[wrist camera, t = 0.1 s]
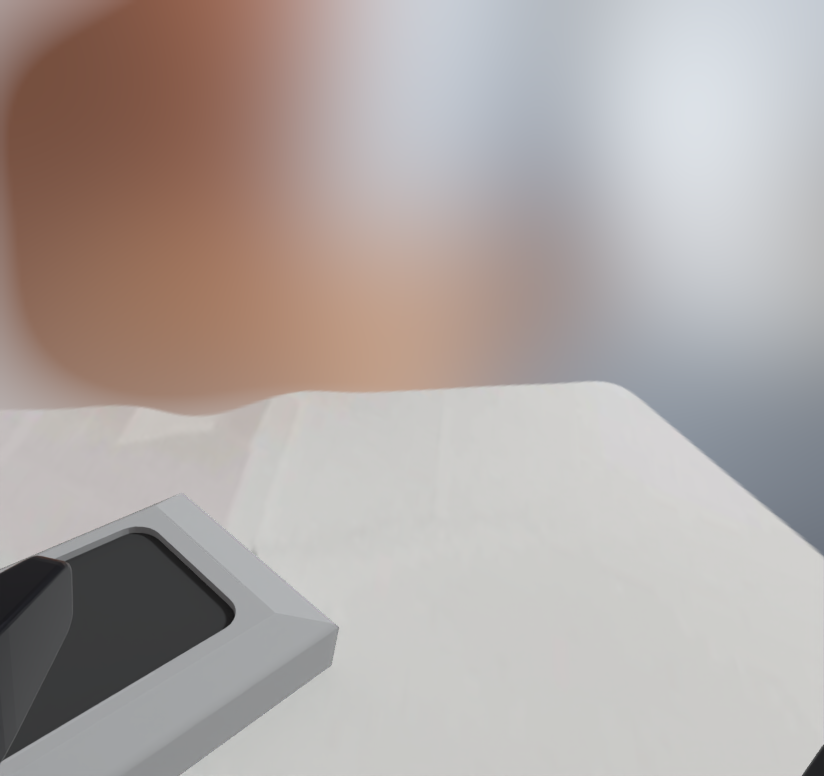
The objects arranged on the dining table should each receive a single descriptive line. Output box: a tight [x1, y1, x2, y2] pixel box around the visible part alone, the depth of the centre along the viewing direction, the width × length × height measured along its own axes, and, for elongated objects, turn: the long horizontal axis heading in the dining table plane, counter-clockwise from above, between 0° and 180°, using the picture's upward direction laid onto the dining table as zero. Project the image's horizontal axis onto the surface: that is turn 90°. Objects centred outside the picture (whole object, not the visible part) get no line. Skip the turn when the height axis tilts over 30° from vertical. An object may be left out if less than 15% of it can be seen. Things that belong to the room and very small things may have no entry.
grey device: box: [0, 493, 339, 776], centre depth 26 cm, size 10×4×15 cm
